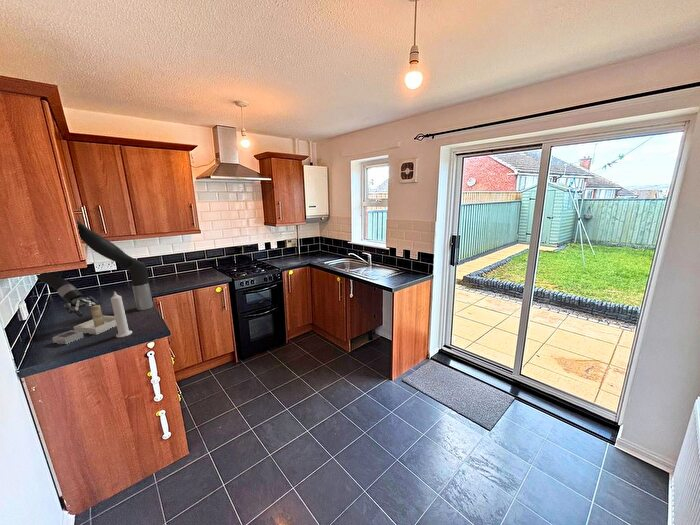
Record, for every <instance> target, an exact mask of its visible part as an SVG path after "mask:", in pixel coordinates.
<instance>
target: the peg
mask: <svg viewBox="0 0 700 525" xmlns="http://www.w3.org/2000/svg"><path fill="white" fill-rule="evenodd" d="M101 308H102V307H101V304H96V306H92V307H91V306H89V309H90V313H91V317H92V319H93V322H94V326H95V327H99V326H101V325H104V320H103V313H102V309H101Z"/></svg>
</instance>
